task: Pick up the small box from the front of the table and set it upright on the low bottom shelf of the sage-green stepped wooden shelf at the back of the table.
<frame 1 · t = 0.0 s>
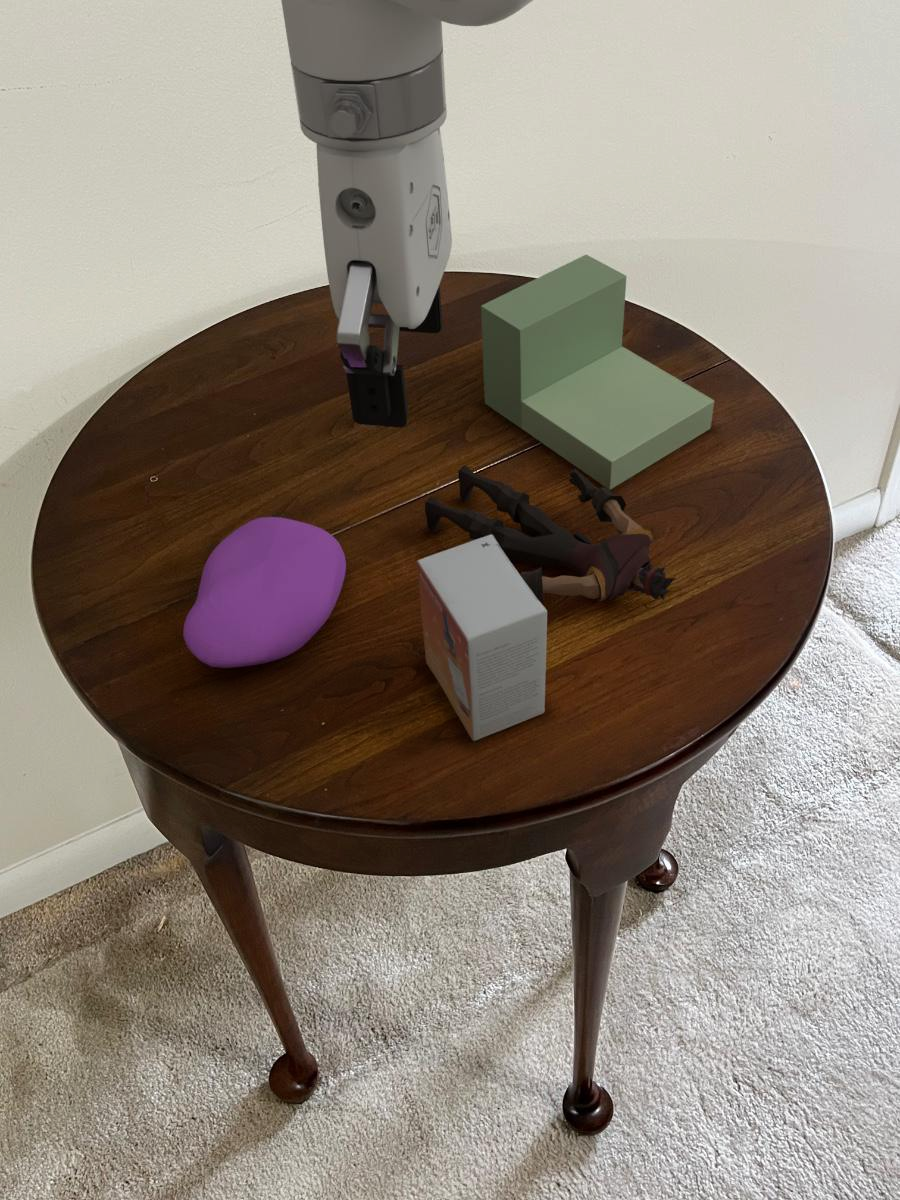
hand: (400, 374, 69), 21 cm above the table, tool pointing down, fingers open, 9 cm apart
small box: (484, 690, 78), on the table
figurine: (552, 562, 87), on the table
shelf: (595, 415, 99), on the table
blob: (264, 617, 84), on the table
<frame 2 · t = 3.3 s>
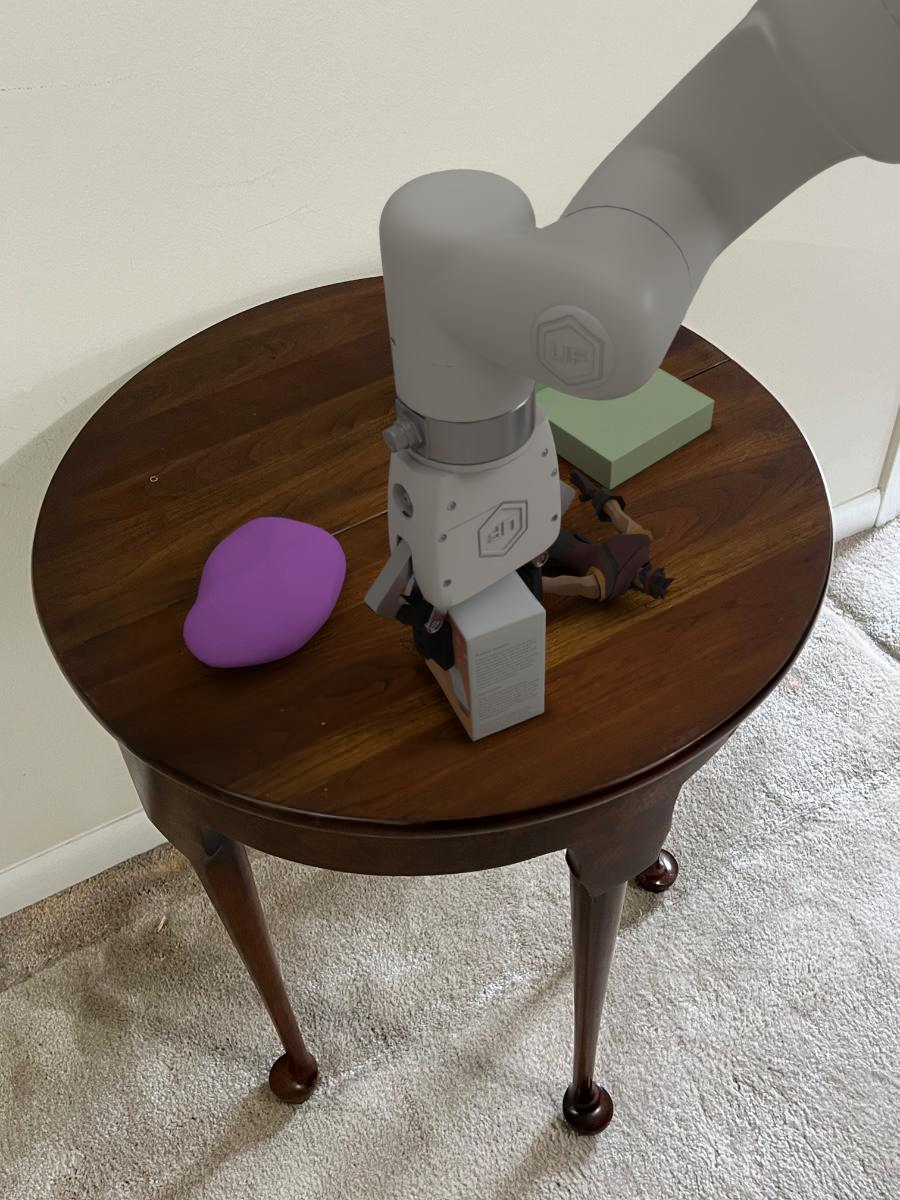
hand: (478, 627, 74), 6 cm above the table, tool pointing down, fingers closed on small box, 6 cm apart
small box: (484, 690, 78), on the table, touching gripper
everything else where it was.
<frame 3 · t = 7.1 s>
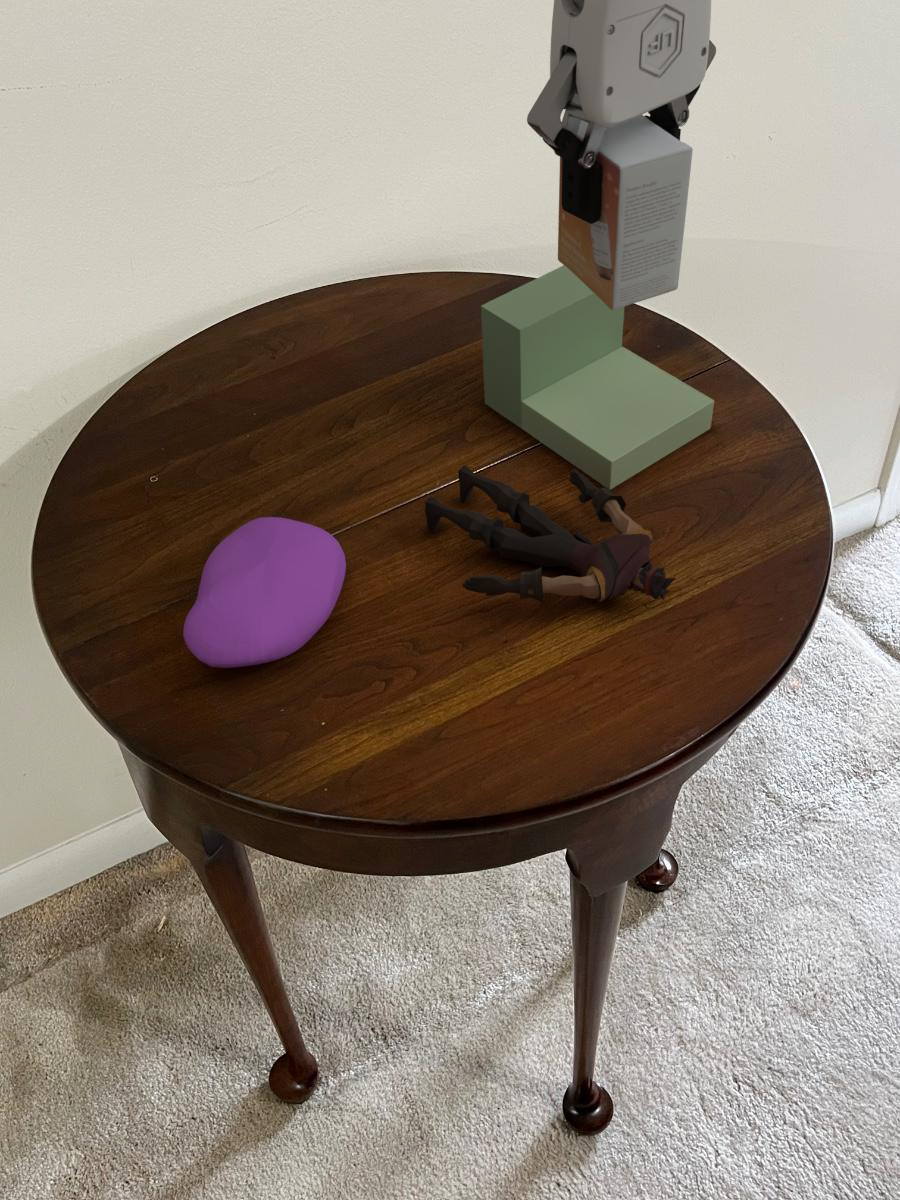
hand: (619, 195, 77), 24 cm above the table, tool pointing down, fingers closed on small box, 6 cm apart
small box: (616, 278, 82), point 17 cm above the table, touching gripper
everything else where it was.
when the fingers open (9 cm above the table, at t = 11.2 s): small box stays where it is, resting on shelf.
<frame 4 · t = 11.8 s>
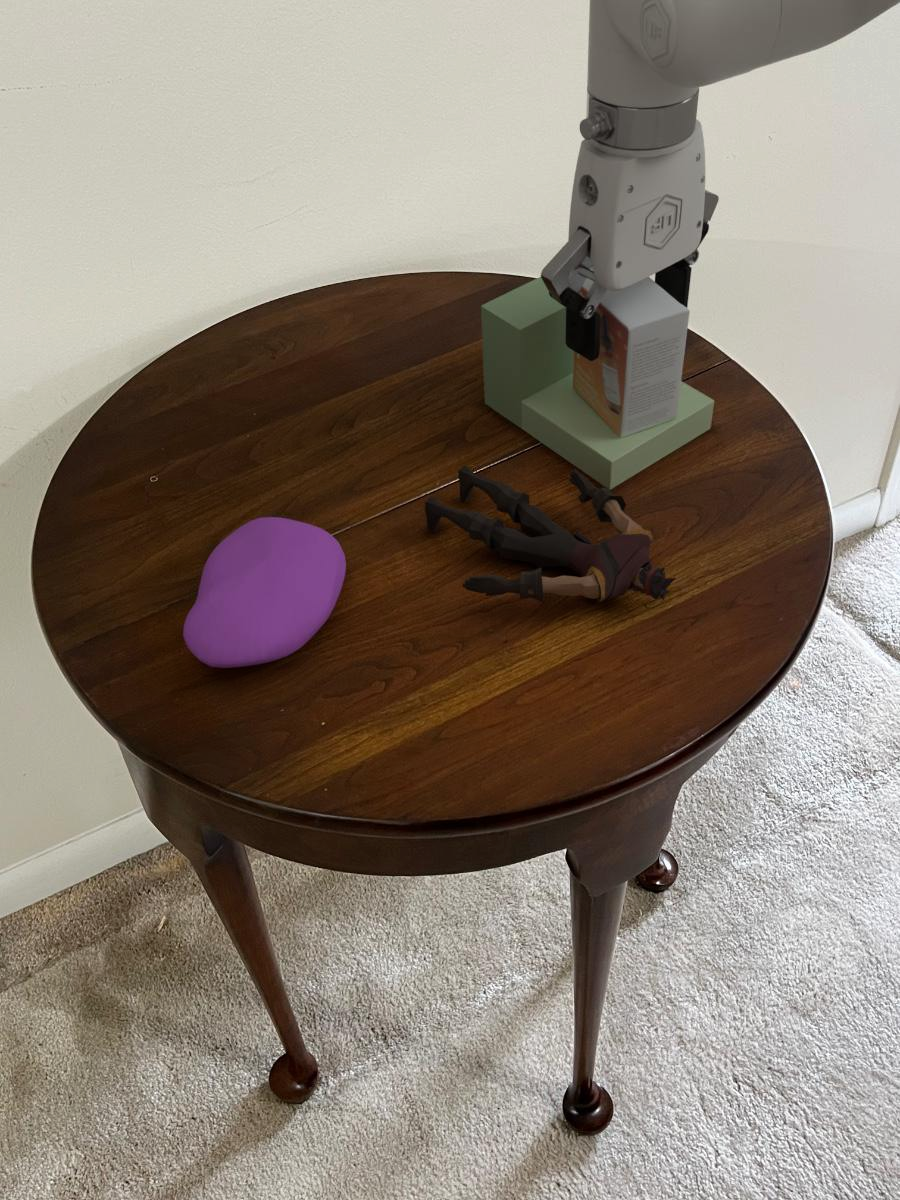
hand: (626, 328, 89), 10 cm above the table, tool pointing down, fingers open, 9 cm apart
small box: (623, 406, 95), point 3 cm above the table, touching shelf
everything else where it was.
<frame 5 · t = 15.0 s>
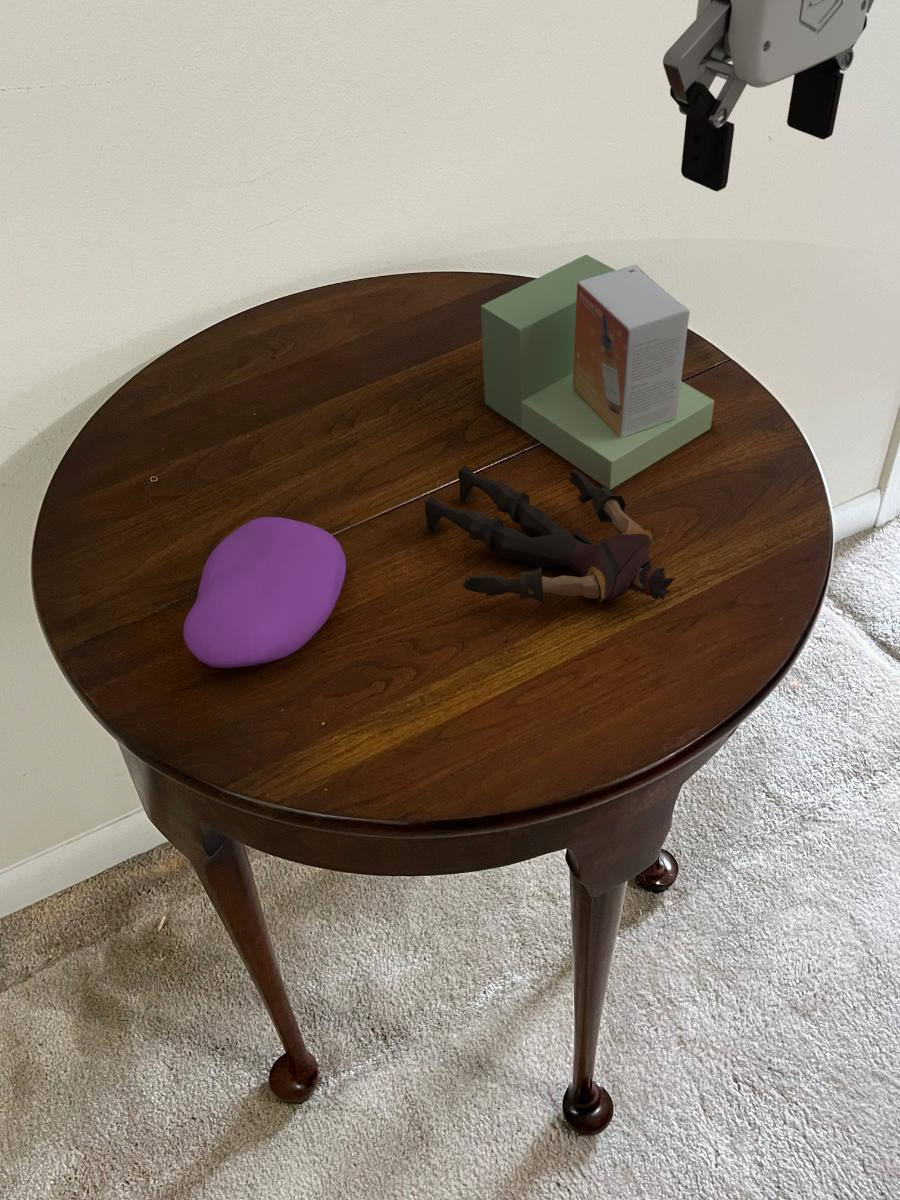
hand: (757, 156, 70), 28 cm above the table, tool pointing down, fingers open, 9 cm apart
nothing on the table moved.
at the end: small box inside the target area on the shelf (0.8 cm from its centre), point 2.8 cm above the shelf's base; small box tilted 0°; the gripper is holding nothing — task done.
